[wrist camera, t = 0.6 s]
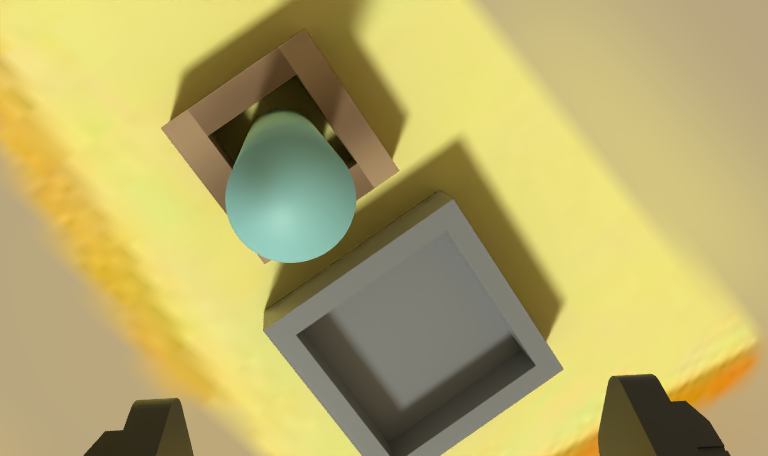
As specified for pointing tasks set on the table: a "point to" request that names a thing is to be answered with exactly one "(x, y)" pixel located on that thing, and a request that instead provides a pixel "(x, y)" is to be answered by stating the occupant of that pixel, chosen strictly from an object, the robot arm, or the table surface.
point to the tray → (412, 336)
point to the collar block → (255, 83)
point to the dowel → (289, 190)
